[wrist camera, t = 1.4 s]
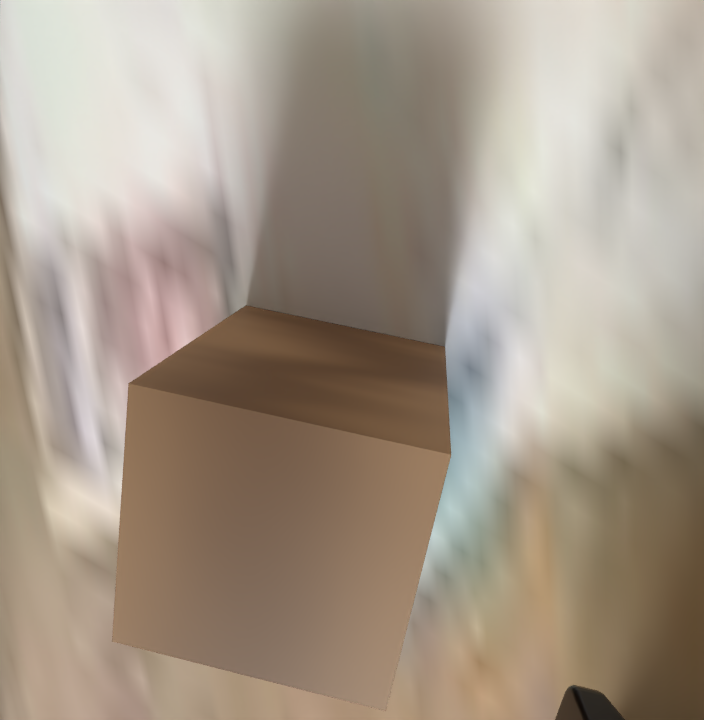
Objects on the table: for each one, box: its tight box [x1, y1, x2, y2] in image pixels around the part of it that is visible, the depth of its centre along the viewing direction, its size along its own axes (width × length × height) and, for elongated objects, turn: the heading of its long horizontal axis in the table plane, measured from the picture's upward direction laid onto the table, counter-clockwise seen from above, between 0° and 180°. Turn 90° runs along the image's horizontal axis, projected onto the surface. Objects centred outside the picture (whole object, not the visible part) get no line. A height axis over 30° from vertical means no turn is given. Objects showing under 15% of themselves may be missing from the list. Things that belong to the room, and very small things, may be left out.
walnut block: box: [112, 306, 451, 711], centre depth 13 cm, size 5×5×6 cm
